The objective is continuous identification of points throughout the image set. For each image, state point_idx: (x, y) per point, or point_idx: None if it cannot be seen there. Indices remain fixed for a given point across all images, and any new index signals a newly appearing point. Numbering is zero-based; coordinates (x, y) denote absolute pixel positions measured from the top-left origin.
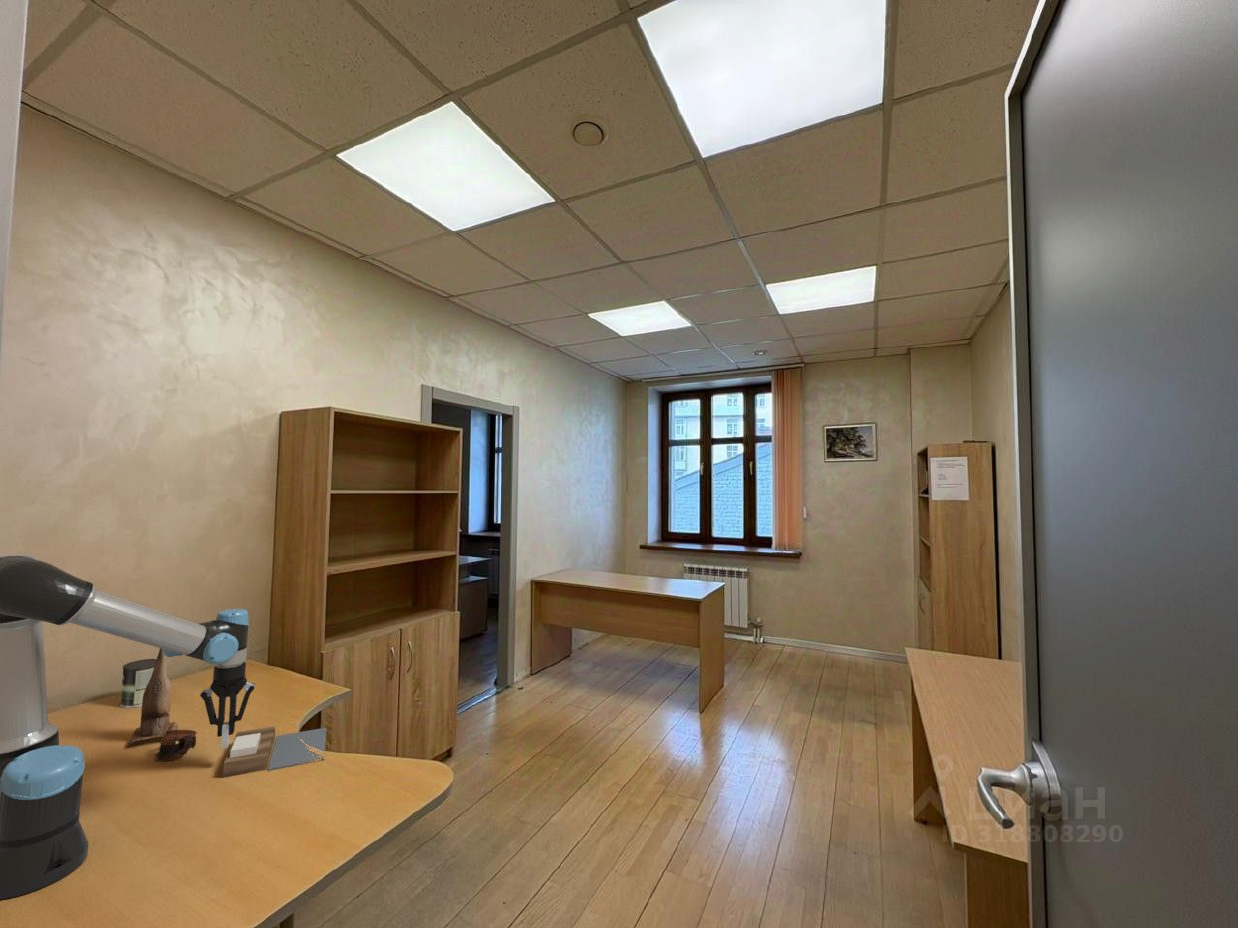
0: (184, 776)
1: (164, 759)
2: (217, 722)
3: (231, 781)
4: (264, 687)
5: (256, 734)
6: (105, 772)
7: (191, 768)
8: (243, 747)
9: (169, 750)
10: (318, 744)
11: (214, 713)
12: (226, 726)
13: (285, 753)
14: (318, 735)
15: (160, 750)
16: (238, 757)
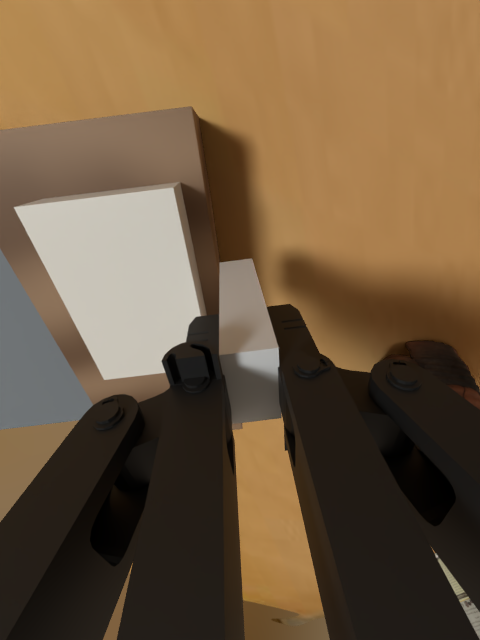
0: (367, 202)
1: (437, 345)
2: (342, 387)
3: (132, 36)
4: (259, 573)
5: (118, 368)
6: None
7: (349, 268)
8: (103, 215)
9: (442, 369)
10: None
11: (447, 519)
12: (238, 344)
13: (3, 281)
14: None
15: (468, 374)
16: (128, 169)
